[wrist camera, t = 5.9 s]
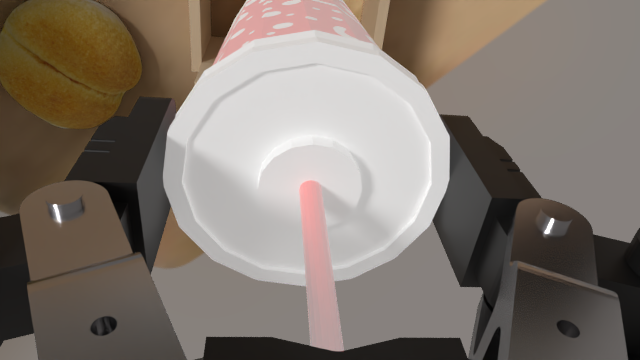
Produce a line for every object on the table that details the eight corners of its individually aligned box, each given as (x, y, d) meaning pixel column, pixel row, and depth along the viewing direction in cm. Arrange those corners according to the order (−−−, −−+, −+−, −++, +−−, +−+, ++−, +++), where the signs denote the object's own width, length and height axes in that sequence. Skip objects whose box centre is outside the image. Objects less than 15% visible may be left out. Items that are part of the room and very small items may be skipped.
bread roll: (164, 44, 34) (152, 65, 30) (98, 133, 37) (80, 160, 34) (47, -43, 30) (19, -30, 27) (-14, 63, 34) (-46, 87, 30)
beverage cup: (396, 90, 19) (582, 455, 8) (250, 140, 20) (219, 544, 8) (350, -76, 16) (555, 128, 4) (177, -8, 17) (-44, 322, 5)
